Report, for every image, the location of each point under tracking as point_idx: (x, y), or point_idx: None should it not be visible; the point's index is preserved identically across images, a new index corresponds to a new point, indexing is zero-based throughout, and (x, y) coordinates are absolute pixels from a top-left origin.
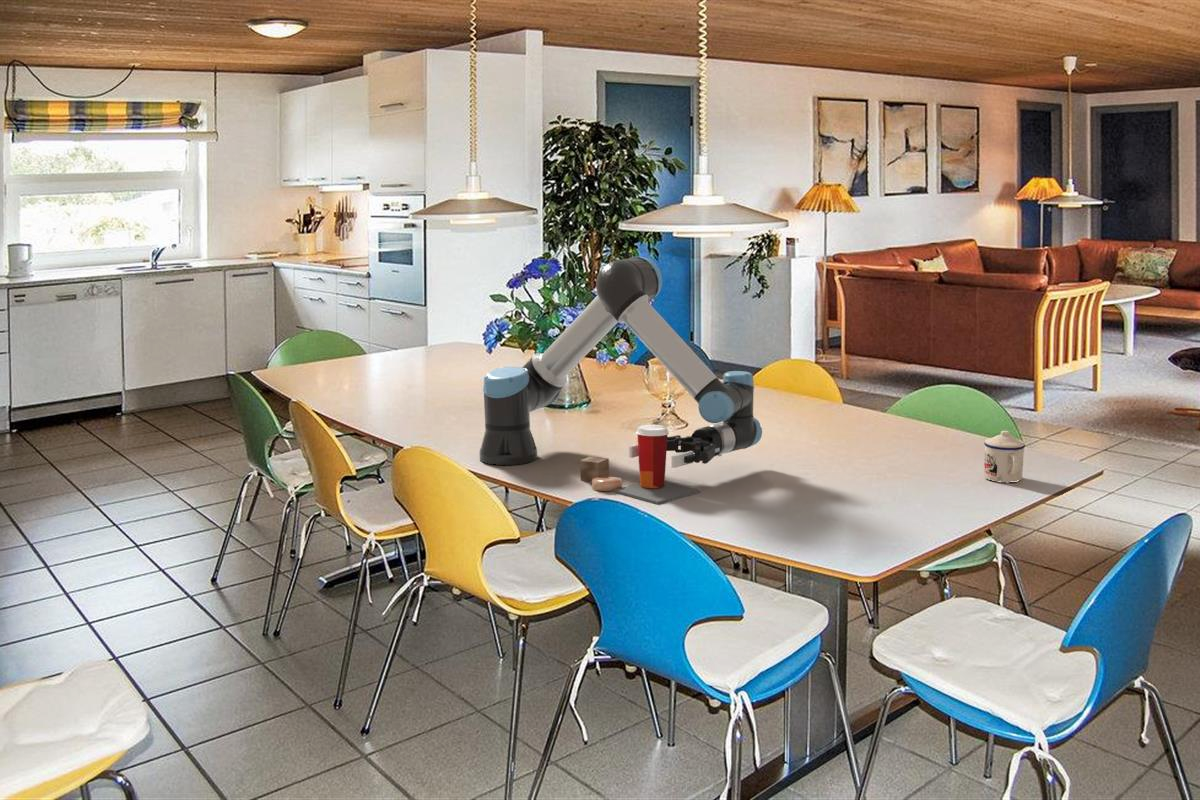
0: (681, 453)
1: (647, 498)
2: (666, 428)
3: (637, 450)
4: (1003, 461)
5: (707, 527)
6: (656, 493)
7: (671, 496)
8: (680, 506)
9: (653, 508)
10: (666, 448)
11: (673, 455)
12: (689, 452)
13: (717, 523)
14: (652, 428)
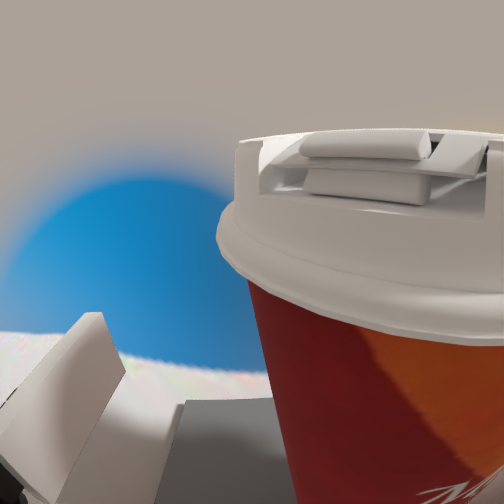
0: (52, 363)
1: (238, 401)
2: (298, 153)
3: None
4: None
5: (30, 354)
6: (257, 458)
7: (176, 464)
8: (114, 427)
9: (178, 378)
10: (304, 452)
11: (92, 319)
12: (3, 407)
13: (14, 374)
14: (372, 129)
